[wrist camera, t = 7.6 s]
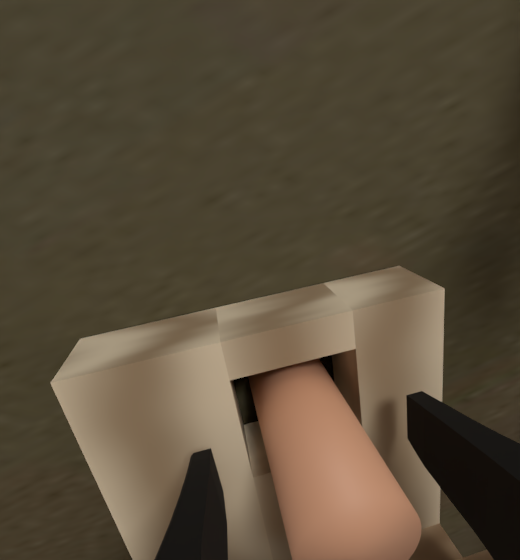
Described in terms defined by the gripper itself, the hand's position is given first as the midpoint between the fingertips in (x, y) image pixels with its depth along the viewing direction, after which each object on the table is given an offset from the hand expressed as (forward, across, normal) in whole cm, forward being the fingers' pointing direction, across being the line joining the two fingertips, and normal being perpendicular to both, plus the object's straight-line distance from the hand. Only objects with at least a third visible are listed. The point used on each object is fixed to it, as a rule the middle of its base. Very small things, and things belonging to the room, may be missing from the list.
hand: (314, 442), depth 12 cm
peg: (+4, 0, 0) cm, 4 cm away
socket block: (+4, +1, +4) cm, 6 cm away
